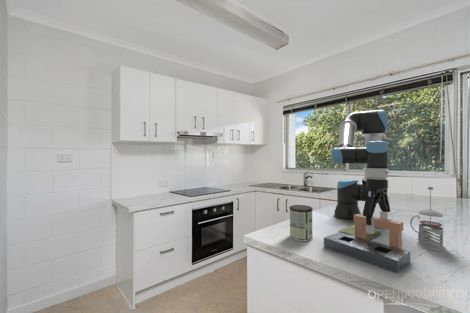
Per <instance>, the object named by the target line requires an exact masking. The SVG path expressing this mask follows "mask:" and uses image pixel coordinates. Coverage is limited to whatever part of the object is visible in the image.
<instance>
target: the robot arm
mask: <svg viewBox="0 0 470 313" xmlns="http://www.w3.org/2000/svg"><path fill="white" fill-rule="evenodd" d="M388 130H389V120H388V115H387V112H386V111H385V109H374V110H365V111H354V112H351V113H349V114H347V115H346V116H344V117H343V118H342V119H341V120H340V121H339V125H338V131H339V134H338V141H337V147H333V148H332V149H331V162H332V163H335V164H364V176H363V178H362V179H361V181H359V179H357V178H355V179H354V178H353V179H351V178H350V179H342V180H339V181H337V186H336V189H337V190H336V191H337V195H336V196H337V197H336V198H337V200H336V202H337V204H336V207H335V209H334V212H333V213H334V217H335V218H338V219H343V220H353V221H354V215H356V214H361V215H363V216H366V232H367V233H371V234H374V229H375V227H374V217H375V216H374V214H375V210H376V207H377V205H378V206H379V208H380V209H379V210H380V211H379V218H383V219H389V218H388V217H389V216H388V215H389V214H388V213H391V206H390V201H389V197H388V188H389V180H388V179H387V178H388V177H389V176H388V174H389V173H390V171H389V168H388V167H389V166H388V164H389V163H388V161H389V159H388V158H389V153H388V152H389V147H388V145H389V144H388V142H387V141H385V140H384V141H383V136H384V135H386V131H388ZM356 132H361V135H362V136H364V147H363V146H362V147H359V146H358V147H355V136H356V135H355V133H356ZM359 202H364V206H363V210H362V212H361V210H360V208H359Z"/></svg>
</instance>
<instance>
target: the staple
mask: <svg viewBox="0 0 470 313" xmlns="http://www.w3.org/2000/svg"><path fill="white" fill-rule="evenodd" d="M373 217H374V228H380V229H384V230H389V235H388V236H389V240H388V241H389V245H388V246H392V247H396V248H399V249H403V241H402V240H403V233H402V232H403V231H404V221H399V220H393V219H389V218H388V219H383V218H380V217H377V216H373ZM353 223H354V225H355V236H356V237H359V238H363V239H366V216H363V214H362V213H361V214H356V215H354V220H353Z"/></svg>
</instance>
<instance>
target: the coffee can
mask: <svg viewBox="0 0 470 313" xmlns="http://www.w3.org/2000/svg"><path fill="white" fill-rule="evenodd" d="M313 209H314V208H313V207H312V206H309V205H306V204H293V205H290V206H289V237H290V239H292V240H294V241H299V242H310V241H312V240H313V239H314V238H313Z"/></svg>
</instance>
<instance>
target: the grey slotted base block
mask: <svg viewBox="0 0 470 313" xmlns="http://www.w3.org/2000/svg"><path fill="white" fill-rule="evenodd" d="M323 248H324V249H327V250H331V251H334V252H337V253H338V254H342V255H344V256H348V257H350V258H352V259H353V258H354V259H356V260H360V262H361V261H362V262H364V263H367V264H371V265H374V266H376V267H378V268H381V269H385V270H387V271H390V272H393V273H396V274H398V273H399V272H400V271H402V270H403V269H404V268H406V267H407V266H408V265H410V263H411V251H410V250H406V249H403V248H402V249H399V248H396V247H392V246H389V245H388V244H384V243H381V242H377V241H373V240H371V239H369V240H367V239H363V238H359V237H356V236H352V235H348V234H345V233H341V232H338V231H337V232H335V233H333V234H330V235H327V236H325V237H323Z"/></svg>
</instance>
